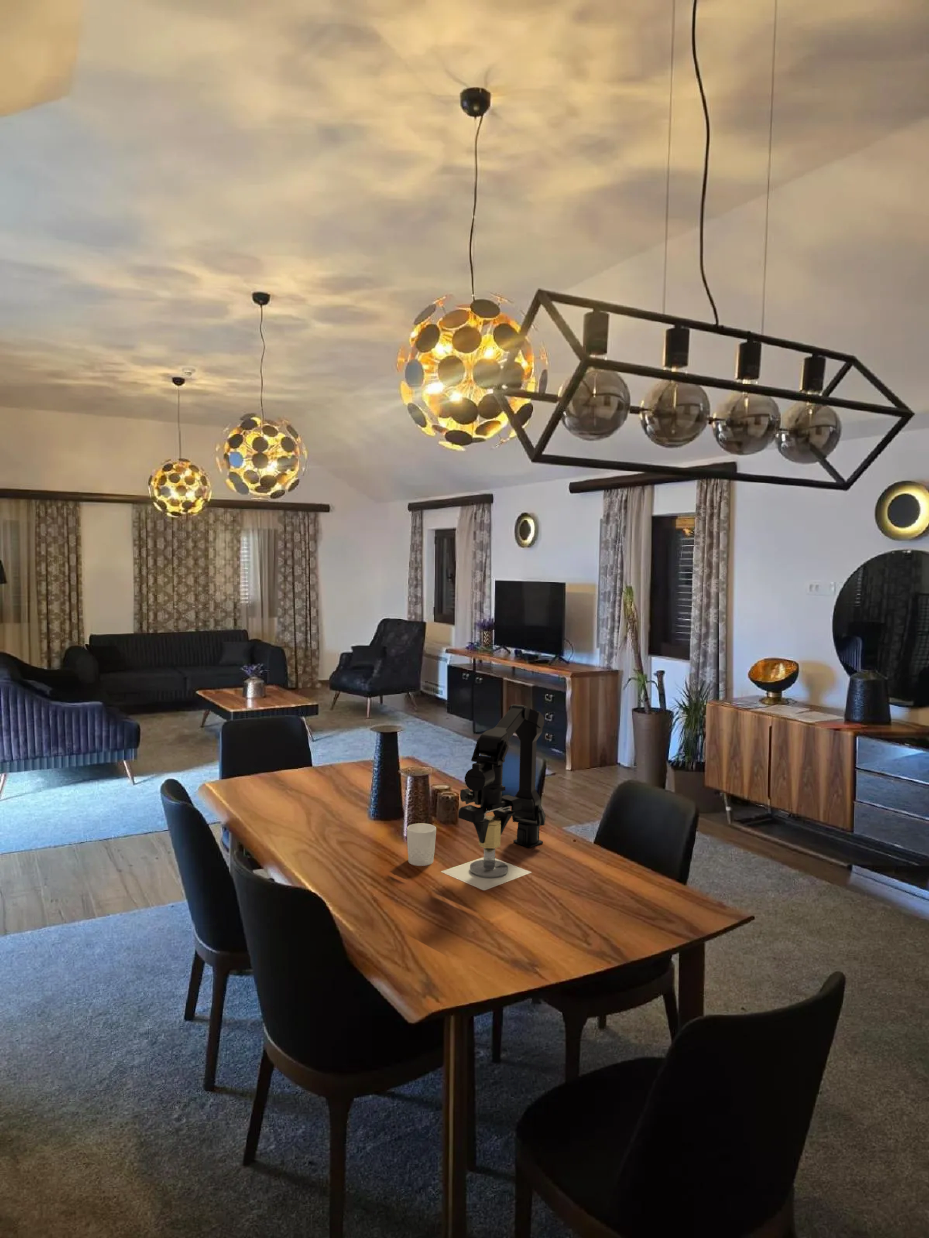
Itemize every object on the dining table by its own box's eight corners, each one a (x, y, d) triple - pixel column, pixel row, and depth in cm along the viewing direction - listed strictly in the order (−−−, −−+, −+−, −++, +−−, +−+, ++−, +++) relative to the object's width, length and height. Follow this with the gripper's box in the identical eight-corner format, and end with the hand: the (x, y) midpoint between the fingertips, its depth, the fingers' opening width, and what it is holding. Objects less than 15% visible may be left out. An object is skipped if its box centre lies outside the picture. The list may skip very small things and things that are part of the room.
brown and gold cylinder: (489, 839, 210) (489, 814, 210) (505, 844, 206) (505, 819, 206) (473, 844, 206) (474, 818, 206) (489, 850, 202) (490, 824, 202)
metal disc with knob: (488, 861, 214) (489, 838, 213) (515, 871, 206) (516, 848, 206) (462, 870, 207) (462, 847, 206) (489, 881, 200) (490, 857, 199)
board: (488, 858, 218) (488, 855, 218) (531, 875, 206) (531, 872, 206) (440, 874, 205) (440, 871, 205) (483, 893, 194) (484, 890, 194)
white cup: (417, 856, 218) (417, 821, 217) (440, 862, 214) (441, 826, 213) (400, 865, 211) (401, 828, 211) (424, 871, 207) (425, 834, 207)
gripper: (493, 770, 217) (492, 825, 218) (444, 781, 204) (443, 840, 205) (523, 778, 209) (522, 835, 210) (474, 790, 196) (472, 851, 197)
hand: (489, 840), depth 206 cm, fingers closed on brown and gold cylinder, 6 cm apart
